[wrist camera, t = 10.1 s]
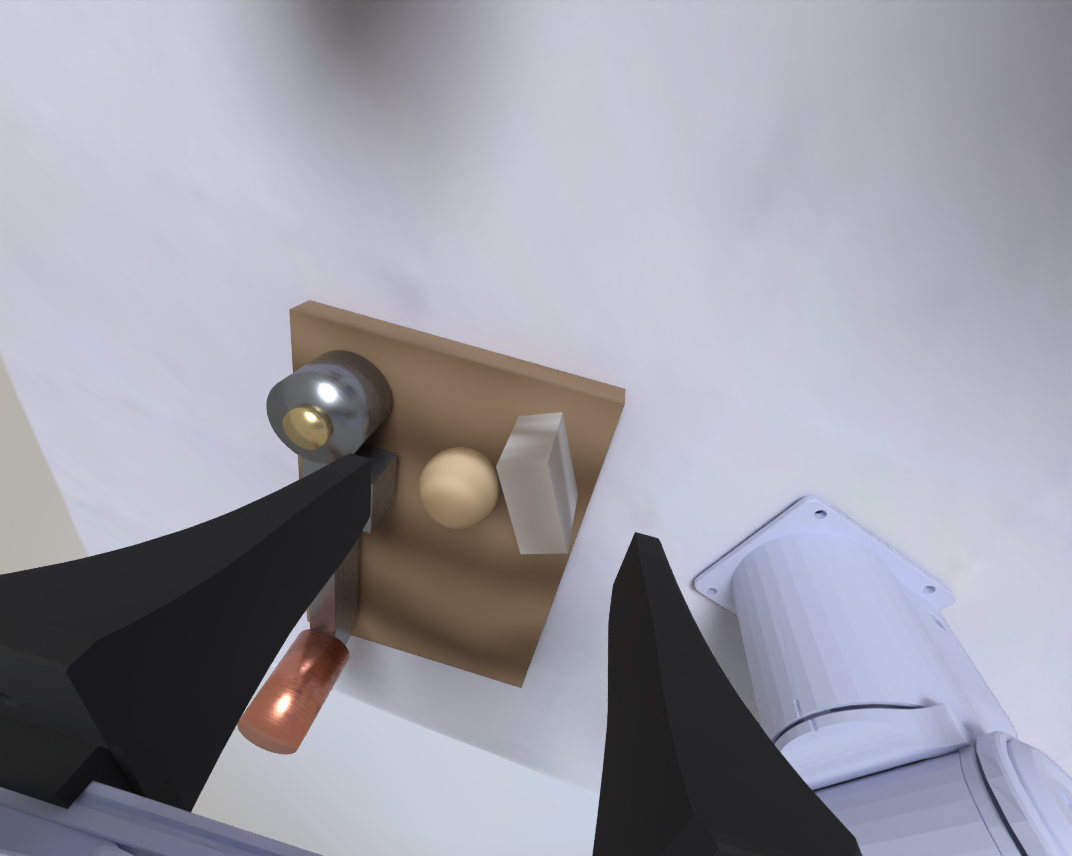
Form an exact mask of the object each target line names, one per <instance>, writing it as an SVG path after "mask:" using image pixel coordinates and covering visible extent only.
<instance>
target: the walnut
mask: <svg viewBox="0 0 1072 856" xmlns="http://www.w3.org/2000/svg"><path fill="white" fill-rule="evenodd" d="M418 495H419V500H420V503H421V505H422V508H423V509H424V511H425V512H426V514H427V515H428V516H429V517H430V518H431V519H432V520H433V521H435V522H436V523H438V524H439V525H442V526H444V527H447V528H452V529H465V528H469V527H473V526H475V525H477V524H479V523H481V522H482V521H484V520H485V519H486V518H487V517H488V516H489V515H490V514H491V513H492V511H493V510H494V508H495V506H496V504H497V502H498V499H499V495H500V480H499V476H498V473H497V470H496V468H495V467H494V465H493V464H492V462H491V461H490V460H489V459H488V458H487V457H486V456H485V455H483V454H482V453H480V452H478V451H476V450H474V449H470V448H465V447H455V448H450V449H446V450H444V451H441V452H440V453H438V454H436V455H435V456H434V457H433V458H431V459H430V460H429V461H428V463H427V464H426V465H425V467H424V468H423V470H422V472H421V475H420V478H419V482H418Z"/></svg>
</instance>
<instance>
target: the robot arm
mask: <svg viewBox="0 0 1072 856" xmlns="http://www.w3.org/2000/svg"><path fill="white" fill-rule="evenodd" d="M371 461H372V459H369V458H366V457H362V456H358V455H355V454H351V453H349V454H347V455H345V456H343V457H341V458H339V459H338V460H336V461H334V462H332V463H330V464H328V465H326V466H324V467H323V468H321V469H319V470H317V471H315V472H313V473H311V474H309V475H307V476H306V477H304V478H302V479H300V480H298V481H296V482H294V483H292V484H290V485H288V486H286V487H284V488H282V489H280V490H278V491H276V492H274V493H272V494H269V495H267V496H265V497H263V498H261V499H259V500H256V501H254V502H252V503H250V504H248V505H246V506H243V507H241V508H239V509H237V510H234V511H232V512H229V513H227V514H225V515H222V516H220V517H217V518H214V519H212V520H209V521H206V522H204V523H201V524H198V525H196V526H193V527H190V528H187V529H184V530H181V531H178V532H175V533H172V534H169V535H165V536H162V537H159V538H156V539H153V540H149V541H146V542H143V543H140V544H136V545H133V546H129V547H126V548H122V549H118V550H114V551H111V552H107V553H103V554H98V555H94V556H90V557H86V558H83V559H78V560H73V561H69V562H64V563H59V564H54V565H50V566H44V567H39V568H34V569H29V570H24V571H19V572H14V573H9V574H3V575H0V856H322V855H319V854H316V853H313V852H310V851H307V850H304V849H301V848H298V847H295V846H292V845H289V844H286V843H283V842H280V841H276V840H273V839H270V838H267V837H264V836H261V835H258V834H255V833H252V832H249V831H246V830H243V829H239V828H237V827H234V826H230V825H227V824H224V823H221V822H218V821H215V820H212V819H209V818H206V817H203V816H200V815H197V814H194V813H191V811H192V809H193V807H194V805H195V803H196V801H197V799H198V797H199V795H200V793H201V791H202V789H203V787H204V785H205V783H206V782H207V780H208V778H209V776H210V774H211V772H212V770H213V768H214V766H215V764H216V762H217V760H218V758H219V756H220V754H221V752H222V750H223V749H224V747H225V745H226V743H227V741H228V740H229V738H230V736H231V734H232V732H233V730H234V729H235V727H236V725H237V723H238V721H239V720H240V718H241V716H242V714H243V712H244V710H245V709H246V707H247V705H248V703H249V701H250V700H251V698H252V696H253V695H254V693H255V691H256V689H257V688H258V686H259V684H260V682H261V681H262V679H263V677H264V676H265V674H266V672H267V670H268V669H269V667H270V665H271V664H272V662H273V660H274V659H275V657H276V655H277V654H278V652H279V651H280V649H281V647H282V646H283V644H284V642H285V641H286V639H287V637H288V636H289V634H290V632H291V631H292V630H293V628H294V627H295V625H296V624H297V622H298V621H299V619H300V618H301V616H302V615H303V614H304V612H305V611H306V610H307V608H308V607H309V606H310V604H311V603H312V602H313V600H314V599H315V598H316V596H317V595H318V594H319V592H320V591H321V590H322V588H323V587H324V586H325V584H326V583H327V582H328V580H329V579H330V578H331V576H332V575H333V574H334V573H335V571H336V570H337V568H338V567H339V566H340V564H341V563H342V562H343V560H344V559H345V558H346V556H347V555H348V554H349V552H350V551H351V549H352V548H353V546H354V545H355V543H356V541H357V539H358V538H359V536H360V534H361V532H362V531H363V529H364V527H365V525H366V523H367V521H368V520H369V518H370V516H371ZM819 510H823V512H821V513H818V514H815V512H816V511H819ZM694 586H695V589H696V590H697V591H698V592H700V593H701V594H703V595H705V596H706V597H708V598H709V599H711V600H713V601H714V602H716V603H717V604H719V605H720V606H722V607H724V608H725V609H727V610H728V611H730V612H732V613H733V614H735V615H736V616H737V617H738V621H739V626H740V631H741V636H742V640H743V645H744V650H745V654H746V659H747V664H748V669H749V673H750V678H751V683H752V688H753V692H754V697H755V702H756V706H757V711H758V716H759V721H760V725H761V726H760V725H759V723H758V722H757V721H756V719H755V718H754V717H753V715H752V714H751V713H750V711H749V710H748V708H747V707H746V706H745V704H744V703H743V702H742V700H741V699H740V697H739V696H738V694H737V693H736V691H735V690H734V688H733V687H732V685H731V683H730V682H729V680H728V679H727V677H726V676H725V674H724V672H723V671H722V669H721V668H720V666H719V664H718V662H717V661H716V659H715V657H714V656H713V654H712V652H711V650H710V649H709V647H708V645H707V643H706V641H705V639H704V638H703V636H702V634H701V632H700V630H699V628H698V626H697V624H696V622H695V620H694V618H693V616H692V614H691V612H690V610H689V608H688V606H687V604H686V602H685V599H684V597H683V595H682V593H681V591H680V589H679V586H678V584H677V582H676V579H675V577H674V575H673V572H672V570H671V567H670V565H669V562H668V560H667V557H666V555H665V552H664V550H663V547H662V544H661V542H660V540H659V539H658V538H655V537H651V536H648V535H644V534H640V533H637V532H635V534H634V536H633V539H632V541H631V543H630V546H629V548H628V551H627V553H626V555H625V558H624V560H623V562H622V565H621V567H620V570H619V572H618V574H617V577H616V579H615V582H614V584H613V590H612V598H611V605H610V614H609V626H608V716H607V732H606V742H605V752H604V762H603V772H602V781H601V789H600V798H599V807H598V816H597V824H596V833H595V840H594V848H593V856H1072V778H1071V777H1070V776H1069V775H1068V774H1067V773H1066V772H1065V771H1064V770H1063V769H1062V768H1061V767H1060V766H1059V765H1058V764H1057V763H1056V762H1055V761H1054V760H1052V759H1051V758H1050V757H1049V756H1048V755H1046V754H1045V753H1044V752H1042V751H1040V750H1039V749H1037V748H1035V747H1032V746H1030V745H1028V744H1025V743H1023V742H1021V741H1019V738H1018V735H1017V733H1016V730H1015V728H1014V726H1013V724H1012V722H1011V721H1010V719H1009V717H1008V716H1007V714H1006V713H1005V711H1004V709H1003V708H1002V706H1001V705H1000V703H999V702H998V700H997V699H996V697H995V696H994V694H993V693H992V691H991V690H990V688H989V686H988V685H987V683H986V682H985V680H984V679H983V677H982V676H981V674H980V673H979V671H978V670H977V668H976V666H975V665H974V663H973V662H972V660H971V659H970V657H969V656H968V654H967V653H966V651H965V650H964V648H963V646H962V645H961V643H960V642H959V640H958V639H957V637H956V636H955V634H954V633H953V631H952V630H951V628H950V627H949V625H948V623H947V622H946V620H945V619H944V617H943V616H942V614H941V613H940V611H939V610H941V609H943V608H945V607H947V606H949V605H951V604H952V603H954V601H955V600H956V596H955V595H954V594H953V592H952V591H951V590H950V589H949V588H948V587H946V586H945V585H943V584H942V583H940V582H939V581H937V580H936V579H935V578H933V577H932V576H930V575H929V574H927V573H926V572H925V571H923V570H922V569H920V568H919V567H917V566H916V565H915V564H913V563H912V562H910V561H909V560H907V559H906V558H904V557H903V556H902V555H900V554H899V553H897V552H896V551H894V550H893V549H892V548H890V547H889V546H887V545H886V544H884V543H883V542H882V541H880V540H879V539H877V538H876V537H874V536H873V535H871V534H870V533H869V532H867V531H866V530H864V529H863V528H861V527H860V526H859V525H857V524H856V523H854V522H853V521H851V520H850V519H849V518H847V517H846V516H844V515H843V514H841V513H840V512H839V511H837V510H836V509H834V508H833V507H831V506H830V505H828V504H827V503H826V502H824V501H823V500H821V499H820V498H818V497H816V496H806V497H804V498H802V499H801V500H799V501H798V502H797V503H795V504H794V505H793V506H791V507H790V508H789V509H787V510H786V511H785V512H783V513H782V514H781V515H779V516H778V517H777V518H775V519H774V520H773V521H771V522H770V523H769V524H767V525H766V526H765V527H763V528H762V529H761V530H759V531H758V532H757V533H755V534H754V535H753V536H751V537H750V538H749V539H747V540H746V541H745V542H743V543H742V544H741V545H739V546H738V547H737V548H735V549H734V550H733V551H731V552H730V553H729V554H727V555H726V556H725V557H723V558H722V559H721V560H719V561H718V562H717V563H715V564H714V565H713V566H711V567H710V568H709V569H707V570H706V571H705V572H703V573H702V574H701V575H699V576H698V577H697V578H696V579H695V580H694ZM927 586H928V587H927ZM710 588H713V589H710Z"/></svg>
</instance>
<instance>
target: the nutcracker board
mask: <svg viewBox="0 0 1072 856" xmlns="http://www.w3.org/2000/svg"><path fill="white" fill-rule="evenodd" d="M290 327H291V344H292V362H293V373H294V372H296V371H297V370H299V369H300V368H302V367H303V366H305V365H306V364H308V363H309V362H311V361H312V360H314V359H316V358H317V357H319V356H320V355H322V354H324V353H326V352H328V351H332V350H346V351H350V352H353V353H356V354H358V355H361V356H363V357H364V358H366V359H367V360H369V361H370V362H371V363H373V364H374V365H375V366H376V367H377V368H378V369H379V371H380V372H381V373H382V374H383V376H384V377H385V379H386V381H387V383H388V385H389V388H390V391H391V396H392V406H391V410H390V413H389V415H388V417H387V418H386V419H385V421H384V422H383V423H382V424H381V425H380V426H379V427H378V428H377V429H376V430H375V431H374V432H373V434H372V435H371V436H370V437H369V438H368V439H367V440H366V441H365V442H364V444H368V445H371V446H375V447H378V448H381V449H385V450H388V451H392V452H395V453H397V465H396V478H395V490H394V500H393V502H392V503H391V505H390V506H389V507H388V509H387V510H386V512H385V513H384V515H383V516H382V518H381V519H380V520H379V522H378V523H377V525H376V526H375V528H374V529H373V530H372V532H371V533H368V532H365V531H362V532H361V534H360V536H359V555H358V587H357V620H356V628H355V629H354V631H353V633H352V634H351V635H353V636H357V637H360V638H363V639H366V640H369V641H373V642H376V643H379V644H382V645H385V646H389V647H392V648H395V649H398V650H401V651H405V652H408V653H411V654H414V655H417V656H421V657H424V658H427V659H430V660H433V661H437V662H440V663H443V664H446V665H449V666H453V667H456V668H459V669H462V670H465V671H469V672H472V673H475V674H478V675H481V676H485V677H488V678H491V679H494V680H497V681H501V682H504V683H507V684H510V685H513V686H517V687H520V688H521V687H522V684H523V682H524V679H525V676H526V673H527V671H528V668H529V665H530V662H531V660H532V657H533V654H534V651H535V649H536V646H537V643H538V640H539V638H540V635H541V632H542V630H543V627H544V624H545V621H546V619H547V616H548V613H549V610H550V608H551V605H552V602H553V599H554V597H555V594H556V591H557V588H558V586H559V583H560V580H561V577H562V575H563V572H564V569H565V566H566V564H567V561H568V558H569V555H570V553H571V550H572V547H573V544H574V542H575V539H576V536H577V533H578V531H579V528H580V525H581V522H582V520H583V517H584V514H585V512H586V509H587V506H588V503H589V501H590V498H591V495H592V492H593V490H594V487H595V484H596V481H597V479H598V476H599V473H600V470H601V468H602V465H603V462H604V459H605V457H606V454H607V451H608V448H609V446H610V443H611V440H612V437H613V435H614V432H615V429H616V426H617V424H618V421H619V418H620V415H621V413H622V410H623V407H624V404H625V389H623V388H619V387H616V386H612V385H609V384H605V383H601V382H598V381H594V380H591V379H587V378H584V377H580V376H577V375H573V374H569V373H566V372H562V371H559V370H555V369H552V368H548V367H545V366H541V365H538V364H534V363H530V362H527V361H523V360H520V359H516V358H513V357H509V356H506V355H502V354H498V353H495V352H491V351H488V350H484V349H481V348H477V347H474V346H470V345H467V344H463V343H459V342H456V341H452V340H449V339H445V338H442V337H438V336H435V335H431V334H427V333H424V332H420V331H417V330H413V329H410V328H406V327H403V326H399V325H396V324H392V323H388V322H385V321H381V320H378V319H374V318H371V317H367V316H364V315H360V314H356V313H353V312H349V311H346V310H342V309H339V308H335V307H332V306H328V305H324V304H321V303H317V302H314V301H310V300H309V301H307V302H305V303H303V304H301V305H298V306H296V307H294V308H292V309H290ZM455 447H465V448H470V449H474V450H476V451H478V452H480V453H482V454H483V455H485V456H486V457H487V458H488V459H489V460H490V461H491V462H492V464H493V465H494V467H495V468H496V470H497V473H498V476H499V480H500V495H499V499H498V502H497V504H496V506H495V508H494V510H493V511H492V513H491V514H490V515H489V516H488V517H487V518H486V519H485V520H484V521H482V522H481V523H479V524H477V525H475V526H473V527H469V528H465V529H452V528H447V527H444V526H442V525H439V524H438V523H436V522H435V521H433V520H432V519H431V518H430V517H429V516H428V515H427V514H426V512H425V511H424V509H423V508H422V505H421V503H420V500H419V495H418V482H419V478H420V475H421V472H422V470H423V468H424V467H425V465H426V464H427V463H428V461H429V460H430V459H431V458H433V457H434V456H435V455H436V454H438V453H440V452H441V451H444V450H446V449H450V448H455ZM298 465H299V480H300V479H302V460H301V456H300V455H298ZM307 621H309V622H310V614H309V607H308V608H307Z"/></svg>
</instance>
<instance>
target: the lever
mask: <svg viewBox="0 0 1072 856" xmlns="http://www.w3.org/2000/svg"><path fill="white" fill-rule="evenodd" d="M391 406H392V396H391V391H390V388H389V385H388V383H387V381H386V379H385V377H384V376H383V374H382V373H381V372H380V371H379V369H378V368H377V367H376V366H375V365H374V364H373V363H371V362H370V361H369V360H367V359H366V358H364V357H363V356H361V355H358V354H356V353H353V352H350V351H346V350H332V351H328V352H326V353H324V354H322V355H320V356H319V357H317V358H316V359H314V360H312V361H311V362H309V363H308V364H306V365H305V366H303V367H302V368H300V369H299V370H297V371H296V372H294V373H293V374H291V375H289V376H288V377H286V378H285V379H283V380H282V381H280V382H279V383H277V384H276V385H275V386H274V387H273V388H272V389H271V391H270V393H269V395H268V398H267V415H268V418H269V421H270V424H271V426H272V428H273V430H274V431H275V433H276V434H277V436H278V437H279V438H280V439H281V441H282V442H283V443H284V444H285V445H286V446H287V447H288V448H290V449H291V450H292V451H294V452H295V453H296V454H298V455H300V456H301V460H302V478H304V477H306V476H307V475H309V474H311V473H313V472H315V471H317V470H319V469H321V468H323V467H324V466H326V465H328V464H330V463H332V462H334V461H336V460H338V459H339V458H341V457H343V456H345V455H347V454H349V453H351V454H355V455H358V456H362V457H366V458H369V459H372V461H371V516H370V518H369V520H368V521H367V523H366V525H365V527H364V529H363V531H365V532H368V533H371V532H372V530H373V529H374V528H375V526H376V525H377V523H378V522H379V520H380V519H381V518H382V516H383V515H384V513H385V512H386V510H387V509H388V507H389V506H390V505H391V503H392V502H393V500H394V490H395V478H396V465H397V453H395V452H392V451H388V450H385V449H381V448H378V447H375V446H371V445H368V444H364V442H365V441H366V440H367V439H368V438H369V437H370V436H371V435H372V434H373V432H374V431H375V430H376V429H377V428H378V427H379V426H380V425H381V424H382V423H383V422H384V421H385V419H386V418H387V417H388V415H389V413H390V410H391ZM358 555H359V538H358V539H357V541H356V543H355V545H354V546H353V548H352V549H351V551H350V552H349V554H348V555H347V556H346V558H345V559H344V560H343V562H342V563H341V564H340V566H339V567H338V568H337V570H336V571H335V573H334V574H333V575H332V576H331V578H330V579H329V580H328V582H327V583H326V584H325V586H324V587H323V588H322V590H321V591H320V592H319V594H318V595H317V596H316V598H315V599H314V600H313V602H312V603H311V604H310V606H309V614H310V629H307V630H304V631H302V632H301V633H300V634H299V635H298V637H297V638H296V639H295V641H294V642H293V644H292V645H291V647H290V648H289V649H288V651H287V652H286V654H285V655H284V657H283V658H282V660H281V661H280V662H279V664H278V665H277V667H276V668H275V670H274V671H273V673H272V674H271V675H270V677H269V678H268V680H267V681H266V682H265V684H264V685H263V687H262V688H261V690H260V691H259V693H258V694H257V695H256V697H255V698H254V700H253V701H252V703H251V704H250V705H249V707H248V708H247V710H246V711H245V713H244V714H243V716H242V717H241V718H240V720H239V721H238V724H237V725H238V729H239V731H240V732H241V734H242V735H243V736H244V737H245V738H246V739H248V740H249V741H250V742H252V743H253V744H255V745H256V746H258V747H260V748H263V749H265V750H267V751H270V752H273V753H278V754H292V753H295V752H296V751H297V749H298V748H299V746H300V744H301V742H302V741H303V739H304V737H305V735H306V734H307V732H308V730H309V728H310V726H311V725H312V723H313V721H314V719H315V718H316V716H317V714H318V712H319V710H320V709H321V707H322V705H323V704H324V702H325V700H326V698H327V696H328V695H329V693H330V691H331V689H332V688H333V686H334V684H335V682H336V681H337V679H338V677H339V675H340V674H341V672H342V670H343V668H344V667H345V665H346V663H347V661H348V659H349V651H348V649H347V647H346V646H345V645H346V643H347V641H348V640H349V638H350V636H351V634H352V633H353V631H354V629H355V628H356V620H357V587H358Z"/></svg>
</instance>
